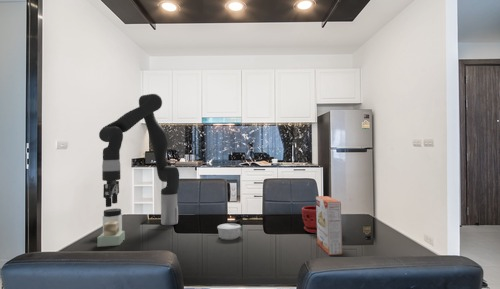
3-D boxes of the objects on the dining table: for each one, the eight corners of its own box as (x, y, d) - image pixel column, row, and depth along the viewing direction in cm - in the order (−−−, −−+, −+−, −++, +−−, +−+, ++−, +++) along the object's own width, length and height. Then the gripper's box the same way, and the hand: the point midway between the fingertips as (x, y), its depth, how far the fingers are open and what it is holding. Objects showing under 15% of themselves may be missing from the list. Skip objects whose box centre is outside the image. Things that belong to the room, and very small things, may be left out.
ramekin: (244, 234, 139) (244, 224, 139) (235, 241, 129) (235, 229, 129) (223, 232, 143) (223, 222, 143) (213, 239, 132) (213, 228, 132)
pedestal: (124, 239, 134) (124, 230, 134) (119, 245, 125) (119, 236, 126) (104, 240, 133) (104, 231, 133) (97, 246, 124) (97, 237, 124)
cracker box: (316, 244, 123) (315, 196, 124) (329, 243, 123) (328, 195, 124) (327, 255, 109) (326, 201, 110) (342, 255, 110) (341, 201, 110)
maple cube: (119, 232, 132) (119, 221, 132) (115, 235, 127) (115, 224, 127) (107, 232, 131) (107, 221, 132) (103, 235, 126) (103, 224, 127)
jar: (103, 236, 139) (103, 212, 139) (101, 233, 145) (101, 209, 146) (123, 233, 144) (123, 210, 144) (120, 230, 150) (120, 207, 151)
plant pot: (330, 229, 147) (329, 205, 147) (325, 235, 135) (325, 210, 135) (305, 226, 152) (305, 204, 153) (299, 232, 140) (298, 208, 141)
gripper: (115, 170, 124) (115, 207, 123) (124, 168, 138) (124, 201, 137) (96, 171, 122) (97, 208, 122) (108, 169, 137) (108, 202, 136)
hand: (111, 205), depth 130 cm, fingers open, 8 cm apart
